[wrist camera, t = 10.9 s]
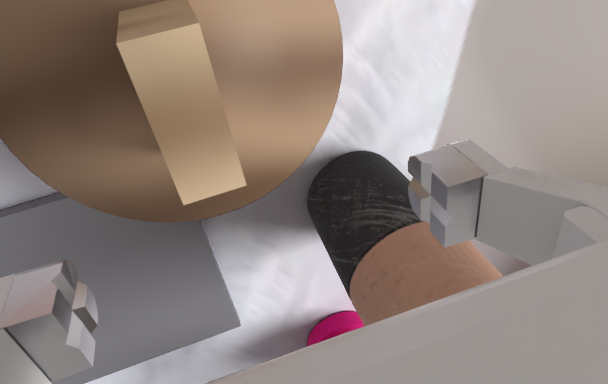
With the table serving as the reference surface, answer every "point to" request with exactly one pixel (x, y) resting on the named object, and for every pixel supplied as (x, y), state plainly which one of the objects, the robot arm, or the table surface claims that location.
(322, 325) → the pepper mill
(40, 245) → the mat
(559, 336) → the robot arm
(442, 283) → the travel mug
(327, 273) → the table surface
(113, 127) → the lid
